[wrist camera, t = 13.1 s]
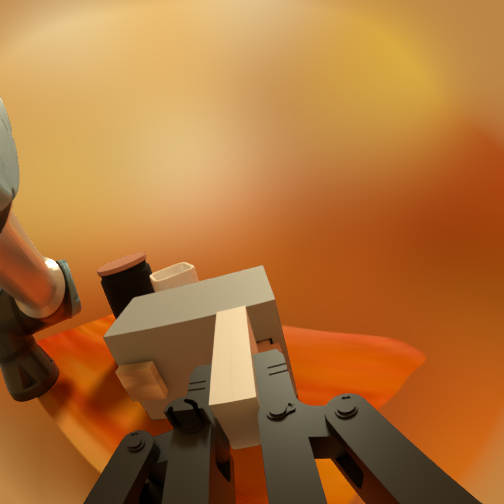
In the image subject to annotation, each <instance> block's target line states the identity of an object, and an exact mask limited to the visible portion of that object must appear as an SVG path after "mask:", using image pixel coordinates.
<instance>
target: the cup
mask: <svg viewBox="0 0 504 504" xmlns="http://www.w3.org/2000/svg"><path fill="white" fill-rule="evenodd" d="M150 280H151V283H152V286H153V288H154V291H155V292H159V291H163V290H168V289H172V288H176V287H180V286H184V285H188V284H192V283H196V282H199V280H198V277H197V274H196V271H195V268H194V266H193V265H191V264H188V263H185V262H182V263H178V264H175V265H173V266H170V267H167V268H165V269H162V270H160V271H157V272H155V273H153V274H151V275H150Z"/></svg>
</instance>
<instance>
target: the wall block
mask: <svg viewBox="0 0 504 504" xmlns="http://www.w3.org/2000/svg"><path fill="white" fill-rule="evenodd" d="M241 306H246V310H247V313H248V317H249V321H250V324H251V328H252V331H253V335H254V338H255V342H257V341H261V340H265V339H268V338H270V342H271V344H275V343H279V344H280V347H281V351H282V354H283V355H284V359H285V362H286V366H287V369H288V372H289V376H290V379H291V383H292V386H293V389H294V393H295V396H298V394H297V390H296V385H295V381H294V377H293V373H292V368H291V364H290V360H289V356H288V351H287V347H286V343H285V339H284V335H283V330H282V326H281V322H280V318H279V314H278V310H277V306H276V302H275V298H274V295H273V292H272V290H271V287H270V284H269V282H268V279H267V276H266V273H265V270H264V268H263V266H258V267H254V268H251V269H247V270H243V271H239V272H235V273H231V274H227V275H223V276H220V277H215V278H211V279H208V280H204V281H200V282H196V283H192V284H188V285H184V286H180V287H176V288H172V289H168V290H163V291H159V292H155V293H151V294H147V295H143V296H139V297H135V298H133V299H132V301H131V302H130V303H129V304H128V306H127V307H126V308H125V309H124V311H123V312H122V313H121V314H120V316H119V317H118V318H117V320H116V321H115V322H114V323H113V325H112V326H111V327H110V329H109V330H108V331H107V333H106V334H105V335H104V337H103V338H104V340H105V342H106V344H107V346H108V348H109V350H110V352H111V354H112V356H113V357H114V359H115V361H116V363H117V365H118V367H119V365H127V364H135V363H142V362H149V361H153V363H154V365H155V367H156V368H157V370H158V372H159V374H160V376H161V378H162V380H163V382H164V383H165V385H166V387H167V389H168V394H167V398H166V399H158V400H147V401H139V402H140V403H141V405H142V406H143V408H144V409H145V411H146V412H147V414H148V415H149V417H150V418H151V419H152V420H158V419H168V418H167V417H166V415H165V414H164V410H165V408H166V406H167V405H168V404H169V403H170V402H171V401H173V400H175V399H177V398H180V397H184V396H187V392H188V385H189V379H190V374H191V373H192V372H193V370H194V369H195V367H197V366H202V365H208V364H212V358H213V346H214V335H215V324H216V314H217V312H219V311H224V310H228V309H232V308H237V307H241Z"/></svg>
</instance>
